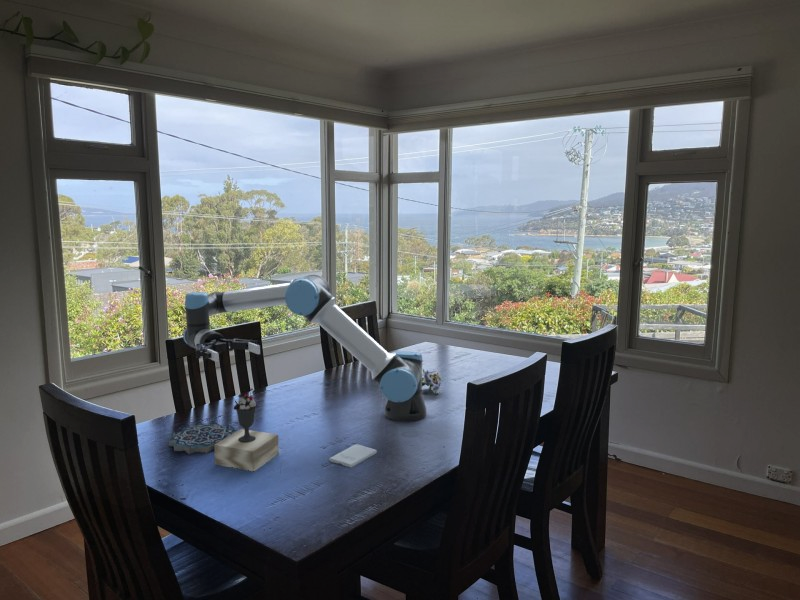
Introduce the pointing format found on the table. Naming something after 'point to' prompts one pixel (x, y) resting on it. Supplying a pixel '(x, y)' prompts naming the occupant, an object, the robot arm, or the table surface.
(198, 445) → the decorative tile
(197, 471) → the table surface
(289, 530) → the table surface
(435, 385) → the passion flower
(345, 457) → the external hard drive
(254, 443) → the block
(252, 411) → the sundae
